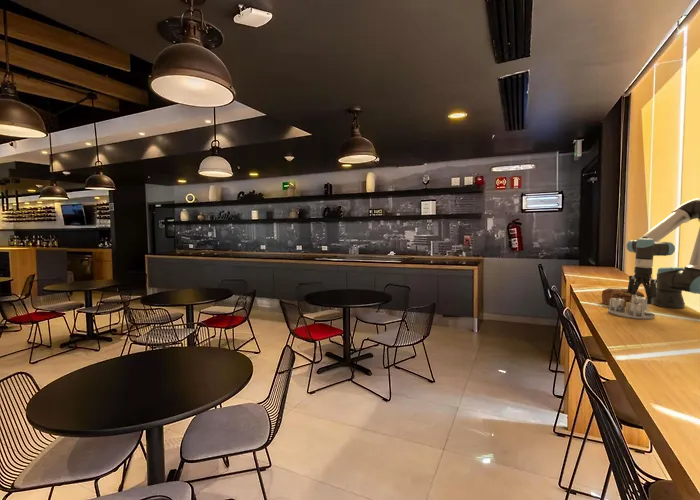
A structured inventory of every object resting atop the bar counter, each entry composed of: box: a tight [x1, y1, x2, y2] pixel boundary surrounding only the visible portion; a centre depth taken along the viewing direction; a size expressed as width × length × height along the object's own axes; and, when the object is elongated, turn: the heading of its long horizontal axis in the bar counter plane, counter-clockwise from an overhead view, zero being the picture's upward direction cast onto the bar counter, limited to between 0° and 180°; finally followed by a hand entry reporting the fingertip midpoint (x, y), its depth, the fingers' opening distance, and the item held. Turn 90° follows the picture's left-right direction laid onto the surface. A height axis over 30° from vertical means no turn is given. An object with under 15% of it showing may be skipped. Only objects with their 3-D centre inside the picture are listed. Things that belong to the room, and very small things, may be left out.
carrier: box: [608, 298, 655, 320], centre depth 196 cm, size 20×20×8 cm
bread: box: [601, 287, 645, 307], centre depth 217 cm, size 19×11×10 cm, turn 81°
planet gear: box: [632, 296, 646, 305], centre depth 197 cm, size 7×7×6 cm
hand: (640, 307), depth 198 cm, fingers closed on planet gear, 7 cm apart
